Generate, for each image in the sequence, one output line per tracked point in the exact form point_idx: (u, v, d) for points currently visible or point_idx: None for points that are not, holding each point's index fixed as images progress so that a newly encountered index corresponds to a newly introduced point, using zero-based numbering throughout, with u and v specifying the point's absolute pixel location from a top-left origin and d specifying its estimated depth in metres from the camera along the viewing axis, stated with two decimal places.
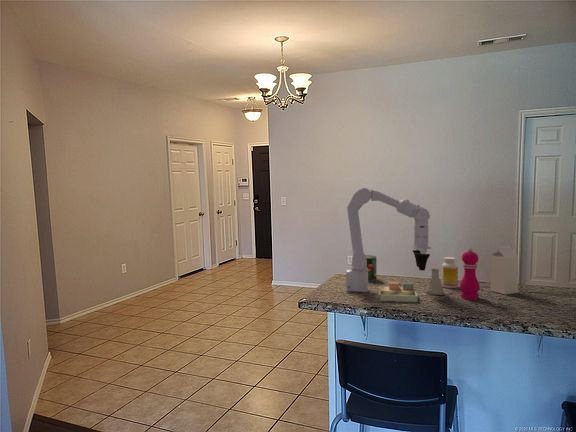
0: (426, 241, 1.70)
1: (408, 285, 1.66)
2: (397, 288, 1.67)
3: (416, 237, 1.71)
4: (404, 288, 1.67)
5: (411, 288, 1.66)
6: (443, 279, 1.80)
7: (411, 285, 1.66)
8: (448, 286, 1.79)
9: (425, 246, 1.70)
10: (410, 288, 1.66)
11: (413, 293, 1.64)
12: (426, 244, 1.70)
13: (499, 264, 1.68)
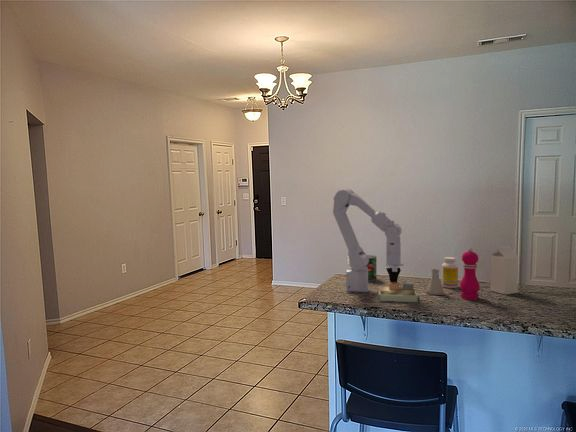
0: (398, 258, 1.69)
1: (408, 285, 1.66)
2: (397, 288, 1.67)
3: (388, 254, 1.70)
4: (404, 288, 1.67)
5: (411, 288, 1.66)
6: (443, 279, 1.80)
7: (411, 285, 1.66)
8: (448, 286, 1.79)
9: (397, 263, 1.69)
10: (410, 288, 1.66)
11: (413, 293, 1.64)
12: (398, 261, 1.69)
13: (499, 264, 1.68)
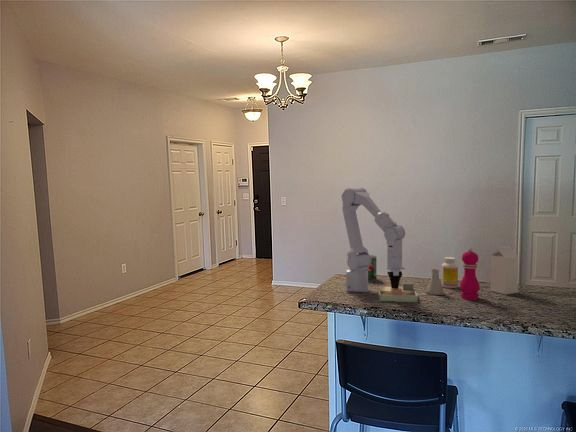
0: (400, 261, 1.62)
1: (408, 285, 1.66)
2: None
3: (389, 257, 1.62)
4: (404, 288, 1.67)
5: (411, 288, 1.66)
6: (443, 279, 1.80)
7: (411, 285, 1.66)
8: (448, 286, 1.79)
9: (399, 267, 1.61)
10: (410, 288, 1.66)
11: (413, 293, 1.64)
12: (400, 264, 1.62)
13: (499, 264, 1.68)
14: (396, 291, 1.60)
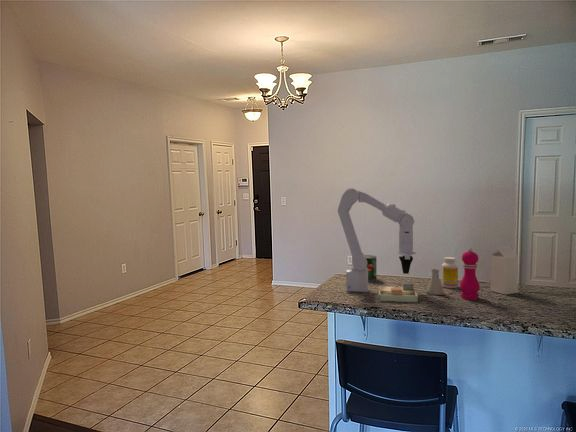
0: (411, 246, 1.72)
1: (408, 285, 1.66)
2: None
3: (401, 242, 1.73)
4: (404, 288, 1.67)
5: (411, 288, 1.66)
6: (443, 279, 1.80)
7: (411, 285, 1.66)
8: (448, 286, 1.79)
9: (410, 251, 1.72)
10: (410, 288, 1.66)
11: (413, 293, 1.64)
12: (411, 249, 1.72)
13: (499, 264, 1.68)
14: (396, 291, 1.60)
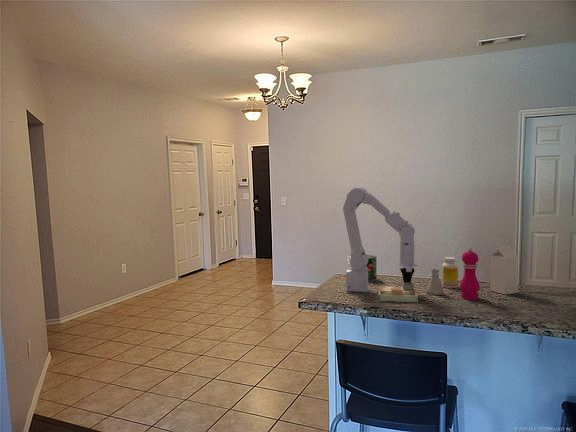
0: (412, 258, 1.68)
1: (408, 285, 1.66)
2: None
3: (402, 254, 1.69)
4: (404, 288, 1.66)
5: (411, 288, 1.66)
6: (443, 279, 1.80)
7: (411, 285, 1.66)
8: (448, 286, 1.79)
9: (411, 263, 1.68)
10: (410, 288, 1.66)
11: (413, 293, 1.64)
12: (412, 261, 1.68)
13: (499, 264, 1.68)
14: (396, 291, 1.60)
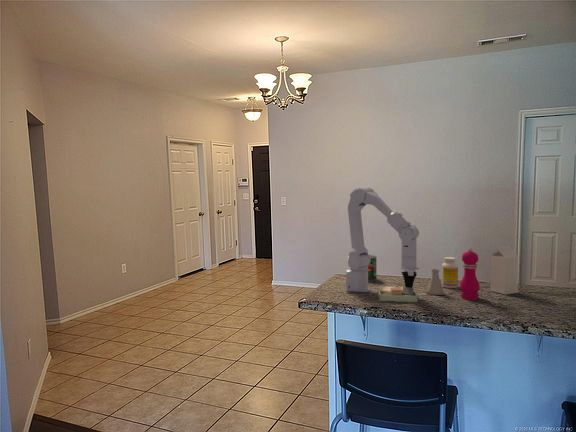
0: (414, 261, 1.61)
1: None
2: None
3: (403, 257, 1.62)
4: None
5: None
6: (443, 279, 1.80)
7: None
8: (448, 286, 1.79)
9: (413, 267, 1.61)
10: None
11: (413, 293, 1.64)
12: (414, 264, 1.61)
13: (499, 264, 1.68)
14: (396, 291, 1.60)
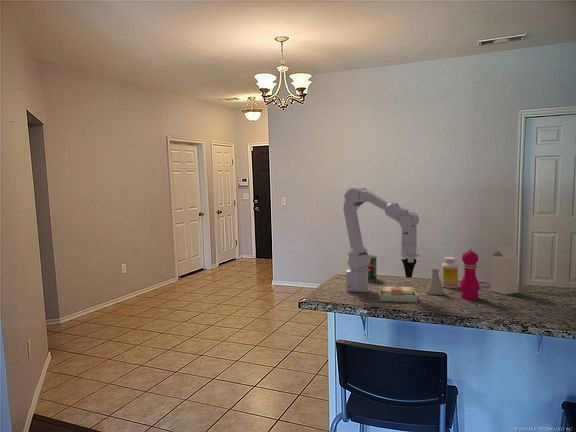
0: (414, 248, 1.60)
1: (408, 294, 1.60)
2: None
3: (403, 244, 1.61)
4: None
5: None
6: (443, 279, 1.80)
7: None
8: (448, 286, 1.79)
9: (413, 254, 1.60)
10: None
11: (413, 293, 1.64)
12: (414, 251, 1.60)
13: (499, 264, 1.68)
14: (396, 291, 1.60)
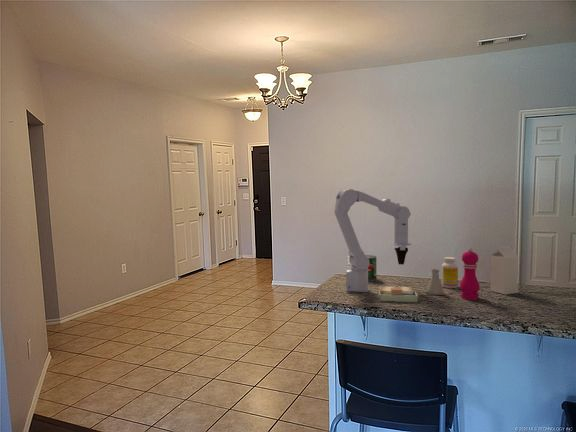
0: (406, 238, 1.77)
1: (408, 294, 1.60)
2: None
3: (396, 234, 1.78)
4: None
5: None
6: (443, 279, 1.80)
7: None
8: (448, 286, 1.79)
9: (405, 243, 1.77)
10: None
11: (413, 293, 1.64)
12: (406, 241, 1.78)
13: (499, 264, 1.68)
14: (396, 291, 1.60)
